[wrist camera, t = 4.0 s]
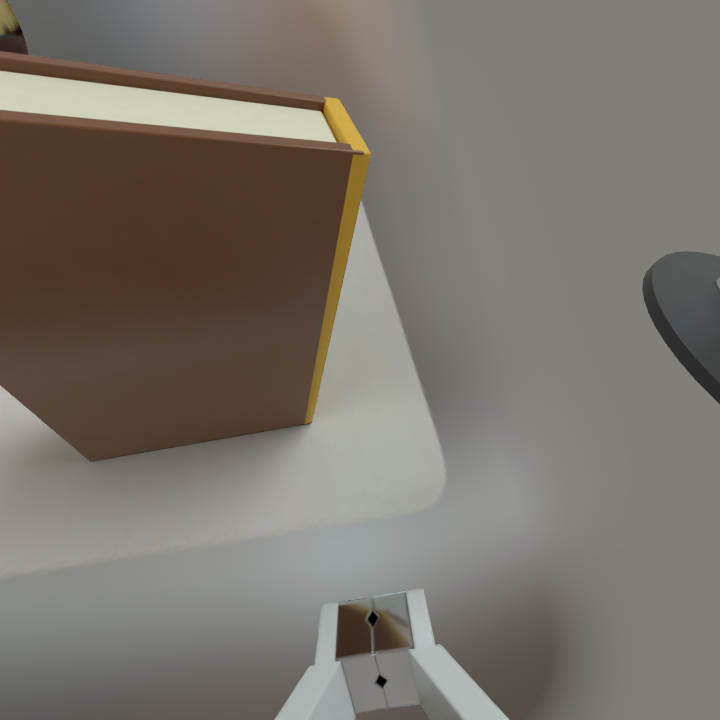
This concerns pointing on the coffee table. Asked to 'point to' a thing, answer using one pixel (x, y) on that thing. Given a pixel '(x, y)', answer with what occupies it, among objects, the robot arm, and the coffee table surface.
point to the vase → (10, 31)
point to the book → (168, 251)
